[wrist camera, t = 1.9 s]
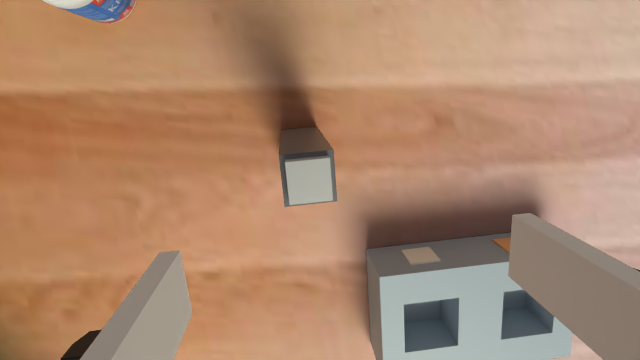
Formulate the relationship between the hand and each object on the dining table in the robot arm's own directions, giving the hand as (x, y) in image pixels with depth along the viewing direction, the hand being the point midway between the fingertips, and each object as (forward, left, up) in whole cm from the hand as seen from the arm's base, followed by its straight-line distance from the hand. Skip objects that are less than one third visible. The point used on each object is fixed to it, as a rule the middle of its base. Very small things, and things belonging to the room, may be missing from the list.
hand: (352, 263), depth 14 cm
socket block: (+15, -17, -23) cm, 32 cm away
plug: (-1, +1, -23) cm, 23 cm away
